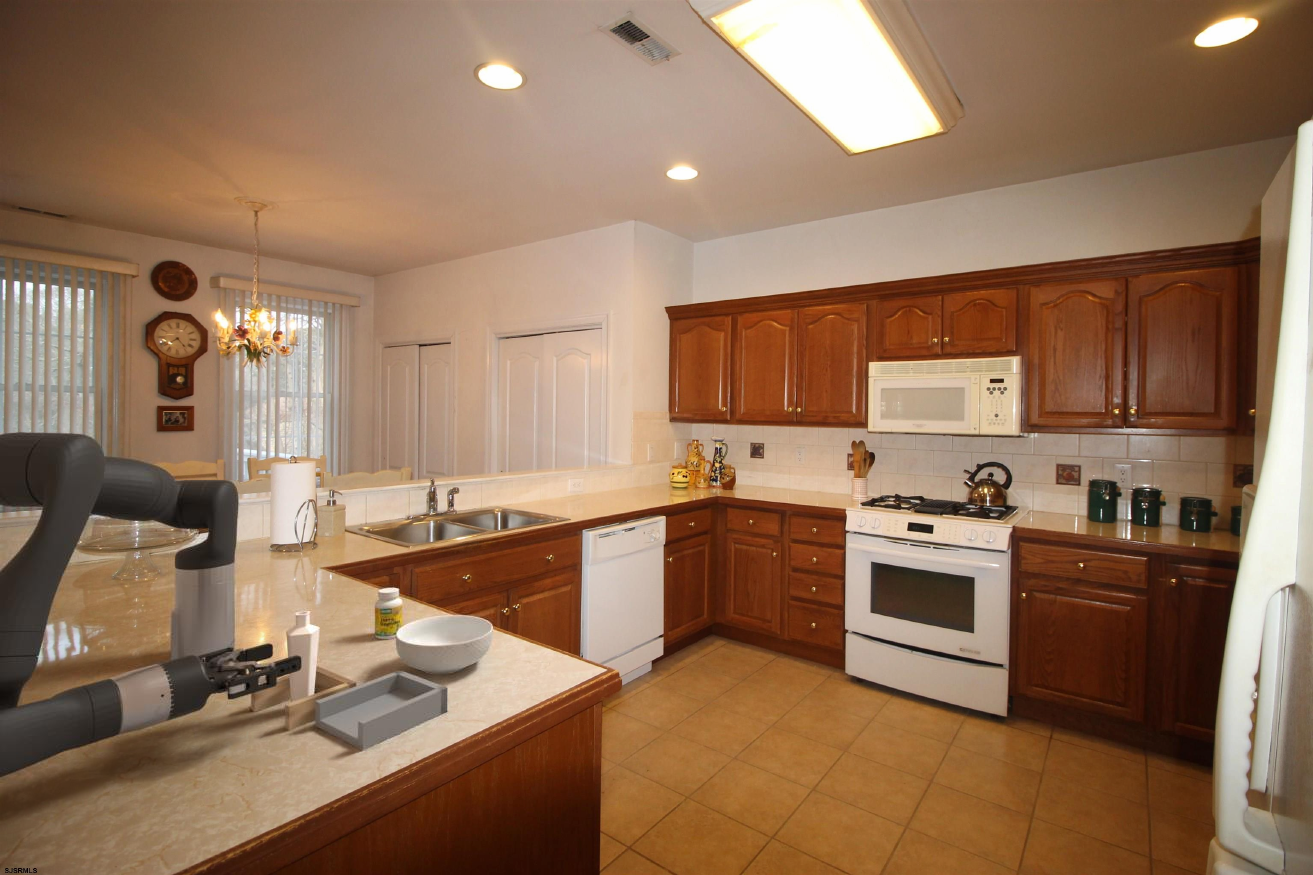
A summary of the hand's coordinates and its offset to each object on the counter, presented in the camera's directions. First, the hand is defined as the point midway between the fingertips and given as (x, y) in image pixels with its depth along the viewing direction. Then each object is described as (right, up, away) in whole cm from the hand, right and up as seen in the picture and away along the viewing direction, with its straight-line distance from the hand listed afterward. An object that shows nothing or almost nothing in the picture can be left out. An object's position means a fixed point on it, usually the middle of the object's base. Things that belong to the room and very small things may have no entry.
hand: (285, 655), depth 95 cm
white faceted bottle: (+1, -9, +2) cm, 9 cm away
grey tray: (+15, -9, -1) cm, 18 cm away
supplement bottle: (+1, -8, +35) cm, 36 cm away
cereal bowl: (+18, -9, +20) cm, 28 cm away
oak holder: (+1, -9, +2) cm, 9 cm away
